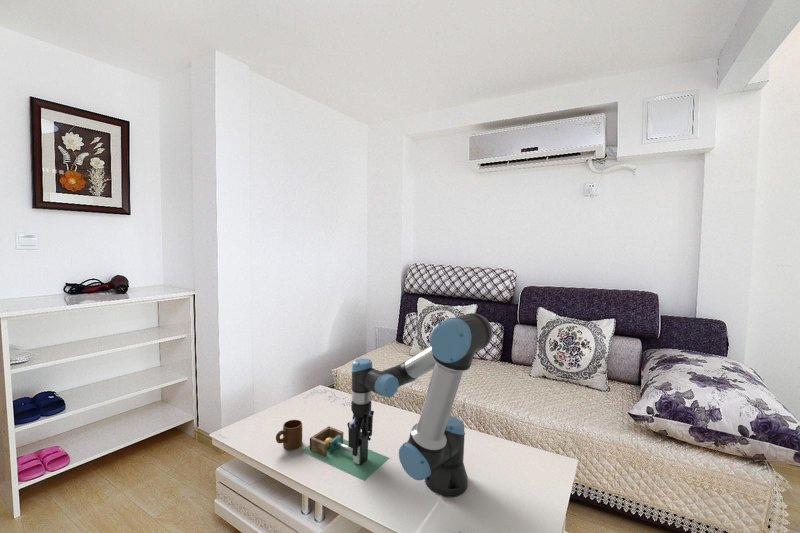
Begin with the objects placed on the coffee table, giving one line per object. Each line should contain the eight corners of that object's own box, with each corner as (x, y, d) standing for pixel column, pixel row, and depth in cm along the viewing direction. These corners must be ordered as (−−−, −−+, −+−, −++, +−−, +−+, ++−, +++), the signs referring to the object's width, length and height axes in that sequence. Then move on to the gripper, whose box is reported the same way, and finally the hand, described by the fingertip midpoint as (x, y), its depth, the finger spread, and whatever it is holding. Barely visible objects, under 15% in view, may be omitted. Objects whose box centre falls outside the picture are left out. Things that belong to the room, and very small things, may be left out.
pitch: (389, 459, 140) (389, 457, 140) (364, 482, 126) (364, 480, 126) (328, 434, 157) (328, 433, 157) (300, 452, 143) (300, 451, 143)
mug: (282, 459, 138) (282, 435, 138) (269, 452, 142) (269, 429, 142) (306, 444, 149) (306, 422, 148) (293, 438, 153) (293, 417, 152)
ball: (334, 435, 147) (327, 436, 149) (327, 439, 143) (320, 440, 145) (337, 444, 146) (330, 446, 148) (330, 449, 143) (323, 450, 145)
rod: (369, 458, 139) (369, 433, 138) (359, 466, 134) (360, 440, 133) (338, 445, 147) (338, 421, 146) (328, 452, 142) (328, 428, 141)
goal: (343, 443, 149) (343, 431, 149) (324, 456, 140) (324, 444, 139) (328, 437, 153) (328, 426, 153) (309, 449, 144) (309, 438, 144)
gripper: (367, 390, 145) (366, 445, 147) (338, 406, 130) (337, 467, 132) (382, 394, 141) (381, 451, 143) (354, 412, 126) (353, 475, 128)
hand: (360, 459), depth 137 cm, fingers closed on rod, 4 cm apart
